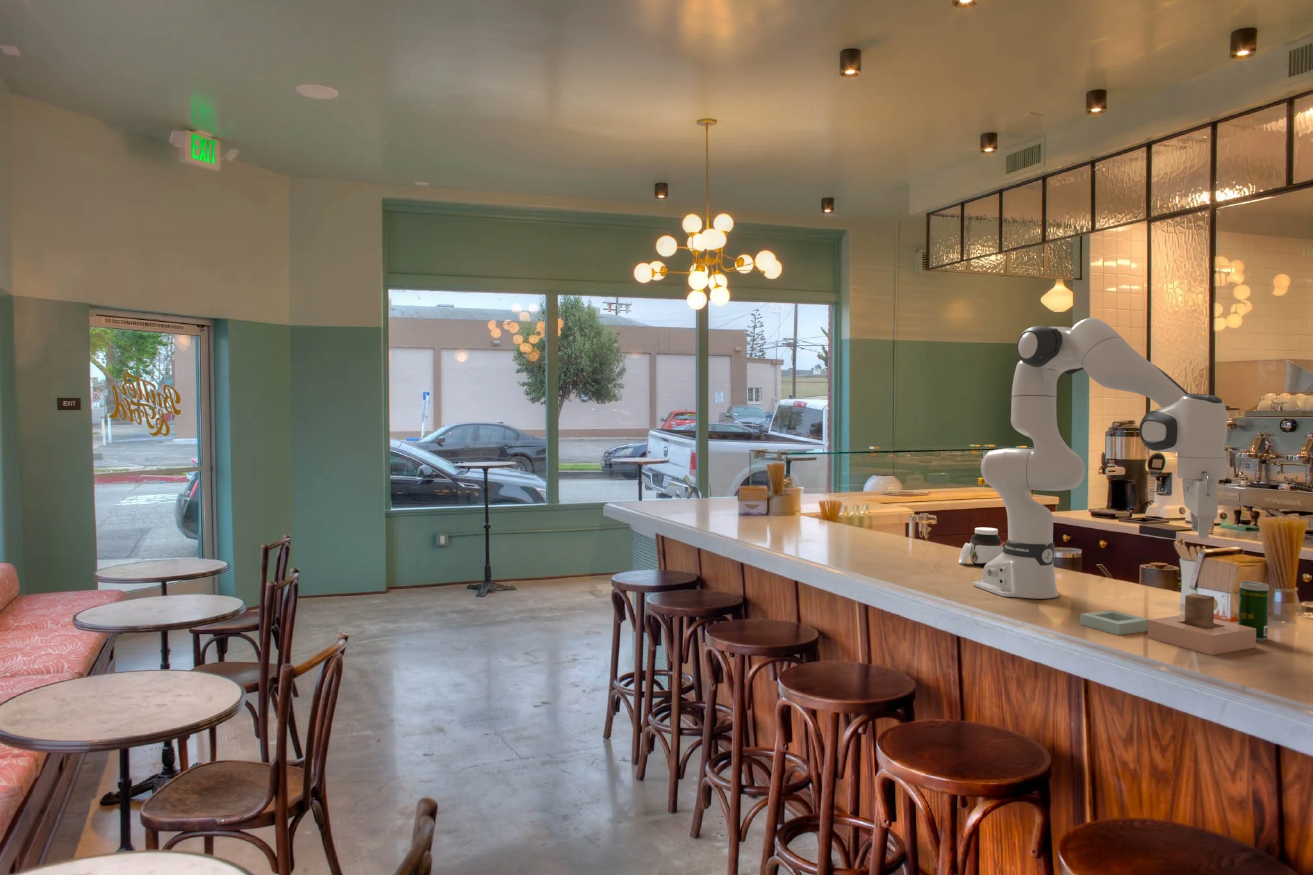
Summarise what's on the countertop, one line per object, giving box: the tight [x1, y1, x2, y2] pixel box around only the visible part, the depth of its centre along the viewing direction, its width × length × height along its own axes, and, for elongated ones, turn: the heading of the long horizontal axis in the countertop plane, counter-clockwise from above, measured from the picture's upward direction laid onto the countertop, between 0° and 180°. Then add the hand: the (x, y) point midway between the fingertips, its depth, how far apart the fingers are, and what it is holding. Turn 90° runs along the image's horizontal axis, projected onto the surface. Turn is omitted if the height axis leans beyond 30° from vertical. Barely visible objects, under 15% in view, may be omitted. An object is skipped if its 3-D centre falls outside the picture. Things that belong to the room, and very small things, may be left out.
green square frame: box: [1079, 609, 1151, 636], centre depth 196 cm, size 10×10×2 cm
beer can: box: [1237, 580, 1270, 642], centre depth 187 cm, size 5×5×12 cm
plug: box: [1184, 592, 1215, 629], centre depth 184 cm, size 4×4×10 cm
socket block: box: [1147, 614, 1257, 656], centre depth 184 cm, size 14×14×4 cm
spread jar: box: [958, 526, 1004, 568], centre depth 272 cm, size 12×11×12 cm
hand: (1199, 534), depth 184 cm, fingers open, 8 cm apart
